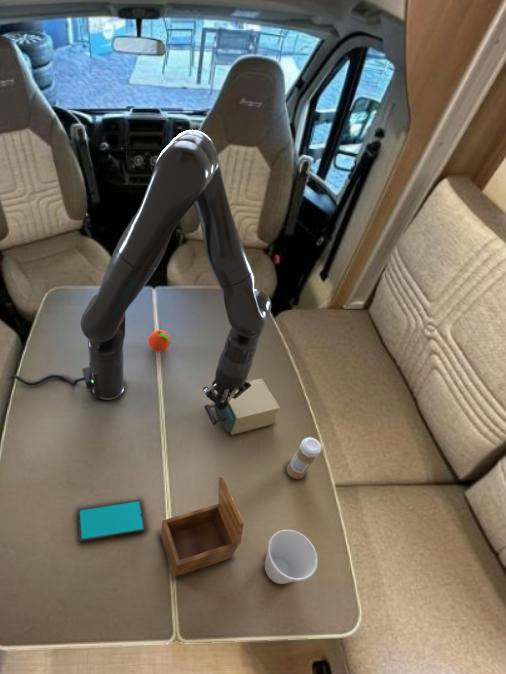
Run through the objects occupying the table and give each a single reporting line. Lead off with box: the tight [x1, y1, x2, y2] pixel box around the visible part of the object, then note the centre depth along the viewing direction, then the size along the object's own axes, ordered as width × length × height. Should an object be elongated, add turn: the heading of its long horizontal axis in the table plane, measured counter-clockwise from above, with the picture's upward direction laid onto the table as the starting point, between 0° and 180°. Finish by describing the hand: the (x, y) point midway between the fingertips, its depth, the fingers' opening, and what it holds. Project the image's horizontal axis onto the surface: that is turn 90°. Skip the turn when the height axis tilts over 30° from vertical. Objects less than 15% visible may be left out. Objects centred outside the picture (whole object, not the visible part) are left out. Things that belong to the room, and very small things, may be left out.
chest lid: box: [218, 475, 245, 546], centre depth 83 cm, size 14×10×1 cm
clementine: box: [148, 329, 172, 353], centre depth 132 cm, size 8×7×7 cm
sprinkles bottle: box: [286, 437, 323, 480], centre depth 102 cm, size 5×5×14 cm
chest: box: [159, 503, 239, 578], centre depth 91 cm, size 14×10×9 cm
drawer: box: [203, 402, 235, 433], centre depth 115 cm, size 16×9×6 cm, turn 107°
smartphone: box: [77, 499, 146, 543], centre depth 97 cm, size 7×1×15 cm
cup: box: [264, 529, 319, 585], centre depth 88 cm, size 10×10×11 cm
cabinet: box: [228, 378, 281, 436], centre depth 116 cm, size 13×11×8 cm
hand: (220, 407), depth 112 cm, fingers closed
